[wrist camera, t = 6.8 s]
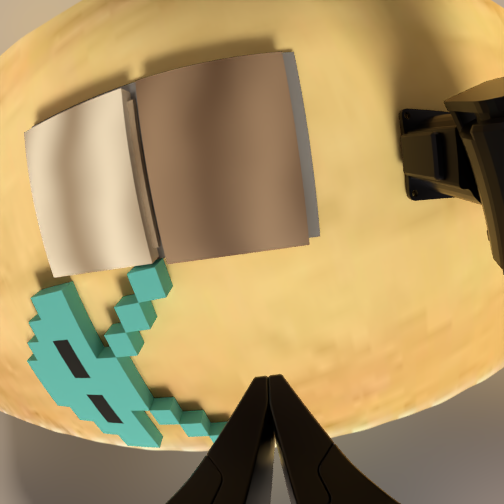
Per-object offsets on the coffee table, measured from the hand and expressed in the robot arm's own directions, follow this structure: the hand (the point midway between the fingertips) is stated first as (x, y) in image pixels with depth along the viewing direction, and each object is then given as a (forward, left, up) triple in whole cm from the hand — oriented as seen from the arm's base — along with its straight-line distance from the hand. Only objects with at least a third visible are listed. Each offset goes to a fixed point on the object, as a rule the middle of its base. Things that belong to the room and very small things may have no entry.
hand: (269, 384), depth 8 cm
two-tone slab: (+6, -7, -12) cm, 15 cm away
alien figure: (+16, +10, -13) cm, 23 cm away
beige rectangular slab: (+11, -7, -12) cm, 18 cm away
